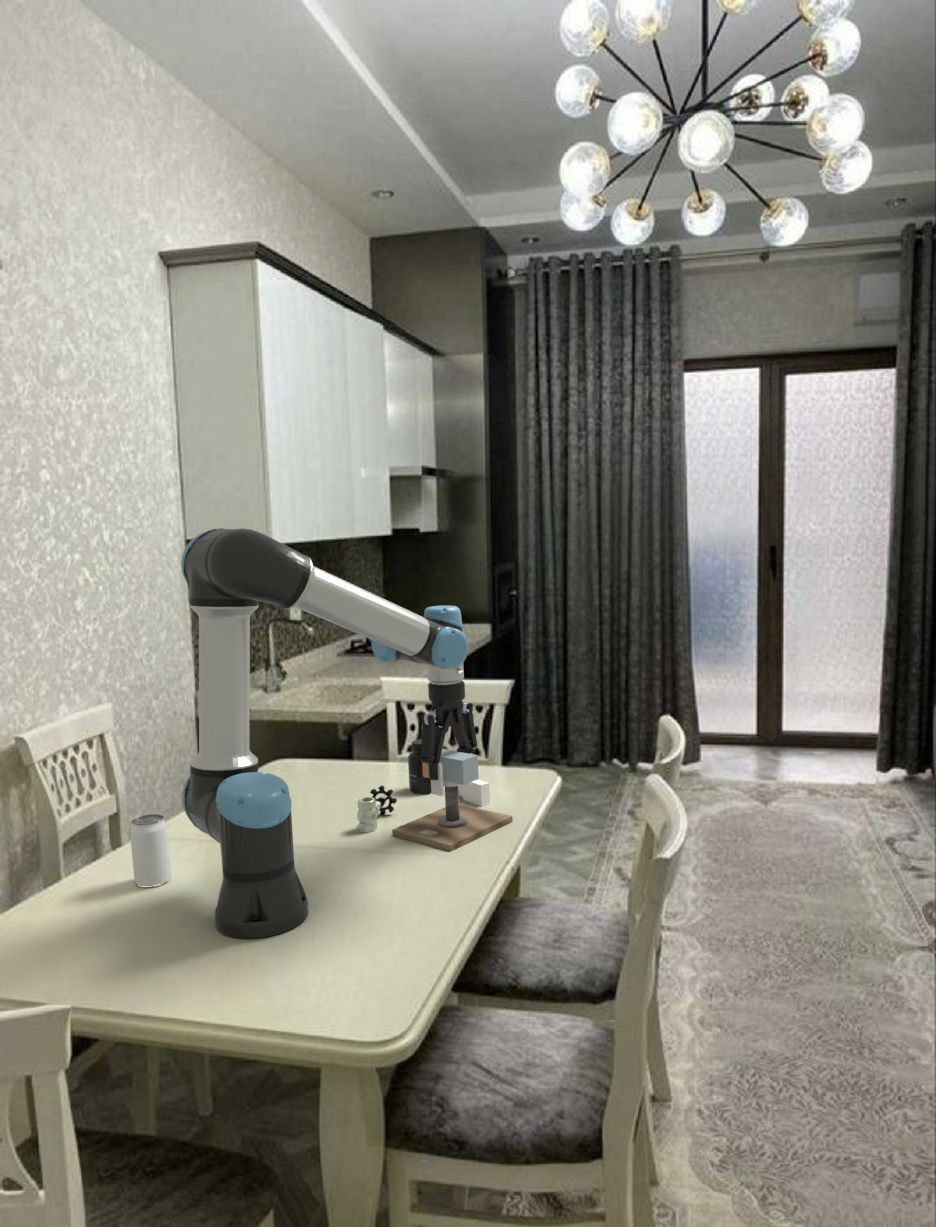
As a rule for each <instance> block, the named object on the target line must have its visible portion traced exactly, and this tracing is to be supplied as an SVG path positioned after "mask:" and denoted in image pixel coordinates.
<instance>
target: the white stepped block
mask: <svg viewBox="0 0 936 1227" xmlns="http://www.w3.org/2000/svg"><path fill="white" fill-rule="evenodd" d="M458 797H461V798H462V801H465V802H468V803H472V804H474V805H477V806H480V807H484V805H485V806H487V805H491V797H490V783H489V782H487V781H484V780H482V779H477V780H475V781H472V782H471V784H470V785H466V784H465V785H462V784H460V785H459V786H458Z"/></svg>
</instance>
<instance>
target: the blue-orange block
mask: <svg viewBox="0 0 936 1227" xmlns="http://www.w3.org/2000/svg"><path fill="white" fill-rule="evenodd" d="M433 758H434V757H433ZM439 763H440V764H442V769H443V787H444V788H445V787H455V786H459V785H460V784H462V785H465V784H467V783H470V782H472V781H475V780H477V779H478V780H480V779H479V778H480V777H479V756H478V754H475V753H471V754H468V753H462V752H461V751H455V750H450V749H446V748H442V752H441V757H440V761H439ZM422 766H423V777H426V778H429V765H428V764H427V763H423V762H422Z"/></svg>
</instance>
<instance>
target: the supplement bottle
mask: <svg viewBox="0 0 936 1227" xmlns="http://www.w3.org/2000/svg"><path fill="white" fill-rule="evenodd" d="M421 743H422V738H420V739H414V740H413V741H411V751H412V752H410V753H409V755H408V757H407V761H408V762H407V765H408V767H407V768H408V786H409V787H408V788H409V791H410V793H412V794H415V795H428V794H431V780H430V778H426V777H423V766H422V762H421V761H420V759H421Z"/></svg>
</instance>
